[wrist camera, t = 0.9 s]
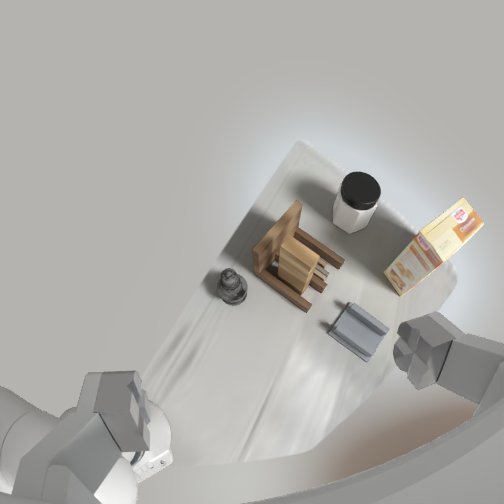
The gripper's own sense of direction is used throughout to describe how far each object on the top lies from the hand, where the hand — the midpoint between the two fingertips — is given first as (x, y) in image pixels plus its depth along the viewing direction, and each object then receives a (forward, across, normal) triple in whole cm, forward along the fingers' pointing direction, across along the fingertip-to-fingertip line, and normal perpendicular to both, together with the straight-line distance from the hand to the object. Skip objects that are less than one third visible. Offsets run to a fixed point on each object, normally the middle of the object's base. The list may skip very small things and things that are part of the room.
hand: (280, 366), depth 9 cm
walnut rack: (+51, +18, -22) cm, 58 cm away
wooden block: (+49, +16, -24) cm, 57 cm away
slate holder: (+38, +27, -32) cm, 57 cm away
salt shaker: (+50, +4, -26) cm, 57 cm away
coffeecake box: (+45, +44, -23) cm, 67 cm away
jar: (+57, +33, -14) cm, 67 cm away
